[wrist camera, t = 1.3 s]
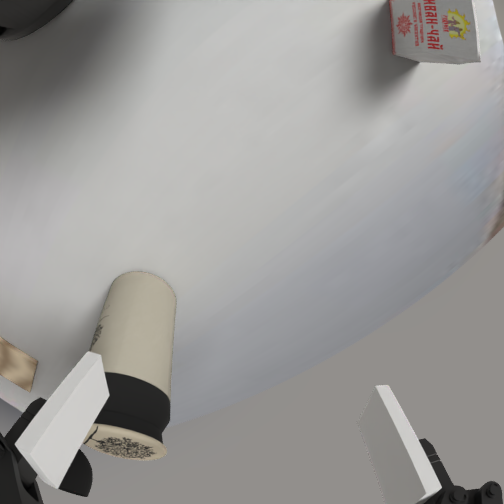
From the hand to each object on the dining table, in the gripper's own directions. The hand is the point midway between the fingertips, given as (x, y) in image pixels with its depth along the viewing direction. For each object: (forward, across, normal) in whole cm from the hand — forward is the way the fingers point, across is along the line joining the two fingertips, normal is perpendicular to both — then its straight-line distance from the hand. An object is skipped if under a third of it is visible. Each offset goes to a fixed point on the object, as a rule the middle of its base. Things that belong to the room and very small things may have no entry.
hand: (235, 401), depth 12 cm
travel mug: (+19, -12, -5) cm, 23 cm away
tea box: (+14, +12, +28) cm, 34 cm away
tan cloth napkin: (+18, -44, -24) cm, 54 cm away
